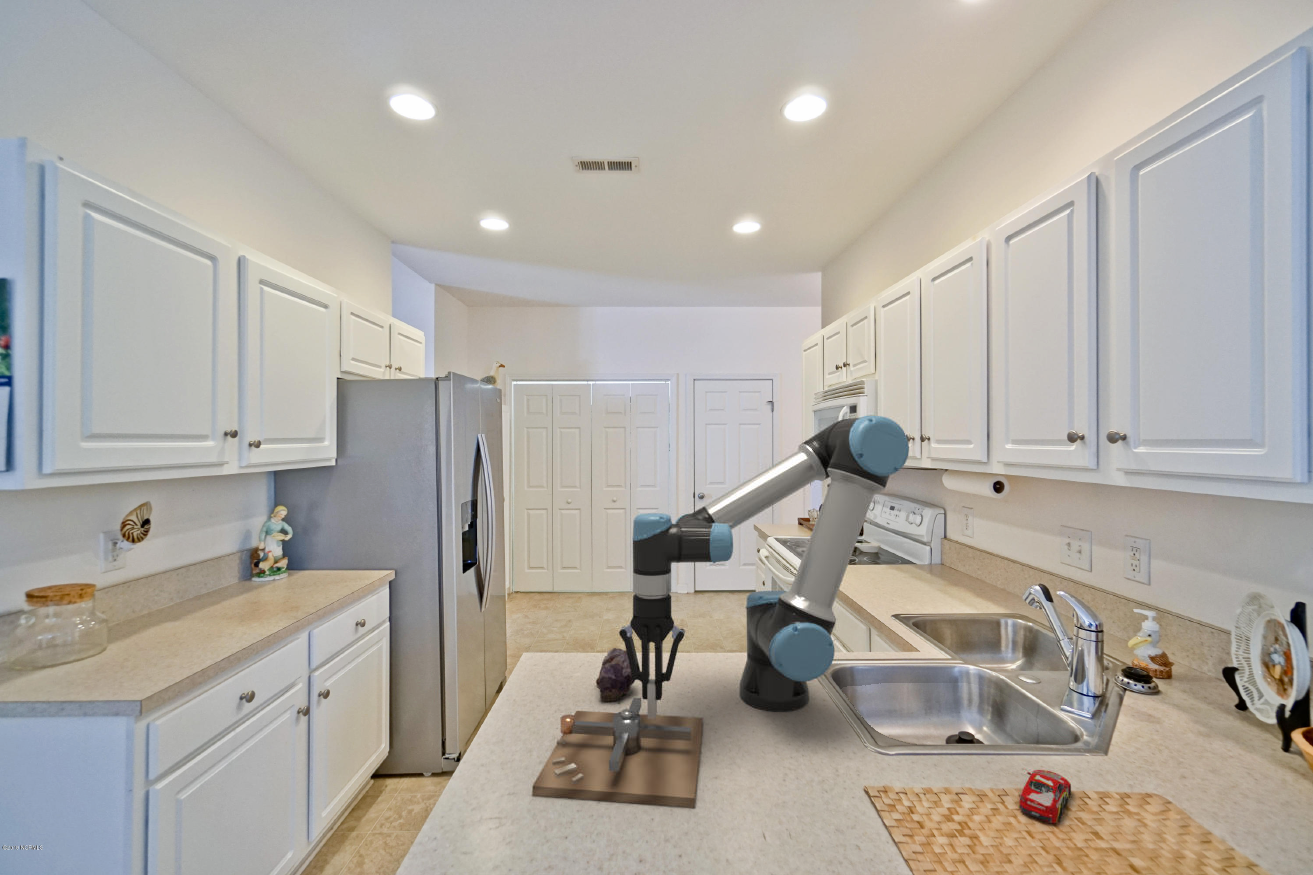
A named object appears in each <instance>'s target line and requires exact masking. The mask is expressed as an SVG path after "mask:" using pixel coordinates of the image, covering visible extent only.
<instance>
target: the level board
mask: <svg viewBox="0 0 1313 875" xmlns="http://www.w3.org/2000/svg"><path fill="white" fill-rule="evenodd" d="M616 713H617V712H606V711H588V710H587V711H586V710H575V713H574V716H575V720H576V721H593V722H610V723H613V716H614V715H615V714H616ZM639 714H640V716H641V724H644V725H661V726H679V727H691V741H684V740H668V739H652V738H641V750H640V751H639V752H638V753H636V754H634V755H629V756H624V758H623V761H622V763H621V766H620V769H619V771H609V759H610V756H611V754H612V751H613V736H603V735H587V734H569V735H564V734H561V736H560V738H558V739H557V740H556V745H555V747H554V749H553V751H551V754H550V755H549V757H548V759H547V760H546V761H545V764H544V766H543V767H542V768H541V771H540V772H539V774H538V776H537V777H536V779H535V781H534V782H533V784H532V786H531V788H532V789H531V793H532V796H535V797H537V796H538V797H549V798H550V797H551V798H562V799H572V800H573V799H574V800H575V799H576V800H588V801H589V800H590V801H600V802H601V801H602V802H611V803H612V802H615V803H627V804H640V805H652V806H667V807H676V808H677V807H679V808H692V809H695V808H696V799H697V787H698V778H699V768H700V759H701V748H702V739H703V728H704V717H693V716H677V715H661V714H660V715H659V714H658V715H657V714H656V718H655V719H647V714H641V713H639Z"/></svg>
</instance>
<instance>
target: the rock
mask: <svg viewBox="0 0 1313 875" xmlns="http://www.w3.org/2000/svg"><path fill="white" fill-rule="evenodd" d="M635 681H636V680H634V679H633V677H632V673H631V669H630V664H629V660H628V656H627V652H626V649H625V650H624V649H622V648H617V647H614V648H612V649H610V650H609V651H608V652H607V655H605V656H604V658H603V660H602V663H601V667H600V670H599V674H598V678H596V680H595V684H596V685H597V686H598V688H599V692H600V697H599V699H600V700H602V701H604V702H610V703H612V702H616V701H617V700H618V699H620V698H621V696H622V695H627V694H628V693H629V691H630V688H631V687H632V686H633V685H634V683H635Z"/></svg>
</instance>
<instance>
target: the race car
mask: <svg viewBox="0 0 1313 875" xmlns="http://www.w3.org/2000/svg"><path fill="white" fill-rule="evenodd" d="M1026 774H1027V775H1029V776H1028V779H1027V780H1026V782H1025V784H1024V786H1023V788H1022V790H1021V792H1020V794H1019V804H1018V805H1019V806H1018V808H1019V810H1020V811H1021V812H1022V813H1024V814H1025V815H1029V816H1031V817H1033V818H1036V819H1039V820H1042V821H1044V822H1046V823H1051V824H1057V823H1059V822H1060V820H1061V819H1062V816H1063V814H1064V811H1065V809H1066V807H1067V803H1068V802H1069V799H1070V796H1071V793H1072V784H1071V783H1070V781H1069V780H1068V779H1067V778H1065V777H1064V776H1062V775H1061V774H1059V773H1056V772H1053V771H1050V770H1044V769H1037V770H1036V769H1035V770H1033V771H1032V772H1029V771H1027V772H1026Z"/></svg>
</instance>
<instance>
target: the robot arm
mask: <svg viewBox="0 0 1313 875" xmlns="http://www.w3.org/2000/svg"><path fill="white" fill-rule="evenodd" d="M909 453H910V445H909V440H908V437H907V436H906V433H905V431H904V429H903V428H902V427H901V425H900V424H898V422H896V421H895V420H893V419H891V418H890V417H886V416H882V415H871V414H870V415H864V416H861V417H853V418H851V417H850V418H844V419H840V420H838V421H836V422H833V423H832V424H830V425H828V426H826V427H825V428H824V429H822V430H820V431H819V432H817V433H816V434H815V435H813V436H811V437H810V438H808V439H807V440H805V441H803V442H801V443H800V444H799V445H798V448H797V451H795V452H793V453H791V454H790V455H788V456H787V457H785V458H784V459H782V460H781V461H778V462H777V463H775V464H773V465H772V466H770V467H769V468H766V469H765V470H763V471H761V472H759V473H758V474H756V475H754V476H753V477H751V478H749V479H748V480H746V481H743V483H741V484H740V485H737V486H736V487H733V488H732V489H731V490H729V491H728V492H725V493H724V494H722V495H721V496H719V497H717V498H715V499H714V500H712V501H710V502H709V503H707V504H705V505H704V506H702V507H701V508H699V509H697V510H694V512H692V513H685V514H682V515H680V516H679V517H678V518H677V519H676V520H675V522H674V523H673V521H672V516H671V514H668V513H659V512H658V513H655V512H651V513H649V512H648V513H647V512H646V513H639V514H637V515H636V516H635V517H634V519H633V527H632V528H633V529H632V592H633V593H634V594H633V596H632V618H631V619H630V623H629V624H627V625H626V626H622V627H621V628H620V630H619V631H618V633H619V636H620V638H621V639H622V642H623V643H624V646H625V651H626V652H627V656H628V660H629V664H630V669H631V673H632V677H633V679H634V680H635V681H640V682H641V699H642V700H647V703H646V704H647V709H646V710H647V713H646V715H647V719H655V718H656V715H657V714H658V701H661V700H662V696H663V683H665V682H670V681H671V679H672V675H673V670H674V666H675V662H676V657H677V653H678V649H679V646H680V644H681V642H682V640H683V639H684V637H685V633H686V630H685V629H684V628H679V627H678V626H677V625H675V622H674V621H675V620H674V619H673V616H672V595H671V592H672V564H674V563H677V564H678V563H680V564H681V563H683V564H684V563H712V564H715V563H720V562H722V563H723V562H728V561H730V559H732V556H733V553H734V552H733V551H734V537H733V532H732V530H734V529H735V528H737V527H738V526H740V525H742V524H744V523H745V522H747V521H749V520H750V519H752V518H754V517H756V516H758V515H759V514H760V513H762V512H764V511H765V510H767V509H770V508H771V507H772V506H775V505H777V503H779V502H781V501H782V500H784V499H786V498H788V497H789V496H791V495H793V494H794V493H796V492H798V491H799V490H801V489H804V488H805V487H807V486H808V485H810V484H811V483H814V482H815V481H819V482H824V481H825V480H827V479H829V478H830V483H829V486H828V489H827V491H826V495H825V496H824V500H823V502H822V505H821V507H820V509H819V513H818V516H817V518H816V520H815V523H814V526H813V528H812V531H811V534H810V537H809V540H808V542H807V544H806V548H805V551H804V553H803V555H802V558H801V559H800V563H799V565H798V568H797V571H796V574H795V576H794V580H793V582H792V584H791V586H790V587H791V588H790V589H789V591H784V590H761V591H758V590H757V591H753V592H750V593H749V594H748V595H747V596H746V606H745V610H746V660H745V661H746V662H745V665H744V668H743V672H742V674H741V677H740V678H741V679H740V680H739V697H740V699H741V700H742V701H743V702H745V703H746V704H747V705H749V706H752V707H754V708H758V709H760V710H765V711H770V712H771V711H772V712H789V711H795V710H798V709H801V708H804V707H805V706H806V705H807V704H808V703H809V700H810V697H809V696H810V694H809V693H810V690H809V686H808V682H810V681H812V680H815V679H817V678H820V677H822V676H823V675H824V674H825V673H827V671H828V670H829V669H830V667H831V665H832V664H833V661H834V658H835V652H836V651H835V645H834V641H833V638H832V633H833V631H834V628H835V624H836V622H837V618H836V615H835V613H834V611H833V606H834V604H835V601H836V598H837V597H838V596H837V595H838V592H839V589H840V588H841V584H842V582H843V580H844V577H845V573H846V571H847V569H848V566H849V563H850V560H851V558H852V555H853V552H854V549H855V546H856V544H857V541H858V539H859V536H860V533H861V530H862V528H863V525H864V523H865V520H866V517H867V515H868V511H869V510H870V506H871V503H872V501H873V498H874V497H875V495H877V494H879V493H882V492H884V491H885V489H886V487H887V484H888V482H889V479H890V476H891V475H893V474H896V473H897V472H899V471H900V470H901V469H902V468H903V467H904V466H905V464H906V462H907V460H908V457H909V455H910V454H909ZM670 633H672V634H671V638H672V639H673V640H672V644H671V648H670V651H669V656H668V661H667V665H666V670H665V671H664V672H663V665H664V664H663V660H664V659H663V655H664V654H663V653H664V652H663V651H664V650H663V648H664V646H663V645H664V641H665V640H666V638H667V637H668V635H669V634H670ZM633 634H636V636H637V638H638V639H639V641H640V642H641V645H640V646H641V668H640V664H639V661H638V660H639V659H638V656H637V651H636V647H635V643H634V638H633ZM651 643H652V644H654V679H653V678H650V676H651V674H650V669H651V668H650V664H651V663H650V656H651V655H650V653H651V652H650V651H651V650H650V649H651V648H650V647H651V646H650V644H651Z"/></svg>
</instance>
